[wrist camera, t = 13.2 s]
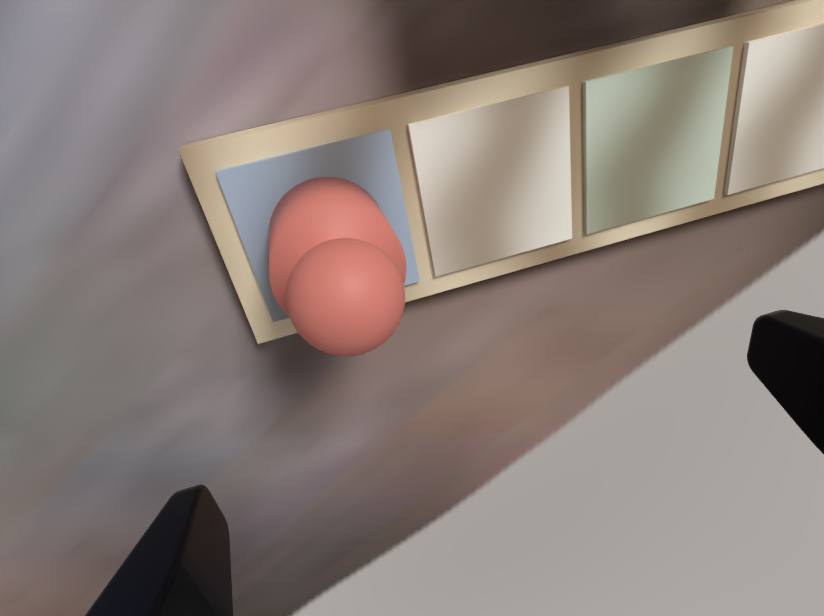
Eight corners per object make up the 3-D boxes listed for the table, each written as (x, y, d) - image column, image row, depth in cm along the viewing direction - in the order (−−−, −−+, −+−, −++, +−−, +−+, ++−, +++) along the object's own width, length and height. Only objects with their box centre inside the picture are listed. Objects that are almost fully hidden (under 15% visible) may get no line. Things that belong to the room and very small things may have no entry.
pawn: (371, 164, 16) (419, 230, 11) (394, 269, 18) (444, 367, 13) (252, 193, 16) (245, 276, 11) (289, 298, 18) (297, 411, 13)
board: (882, -21, 19) (912, -23, 18) (835, 170, 22) (858, 176, 21) (182, 145, 16) (177, 151, 15) (258, 332, 19) (258, 346, 18)
